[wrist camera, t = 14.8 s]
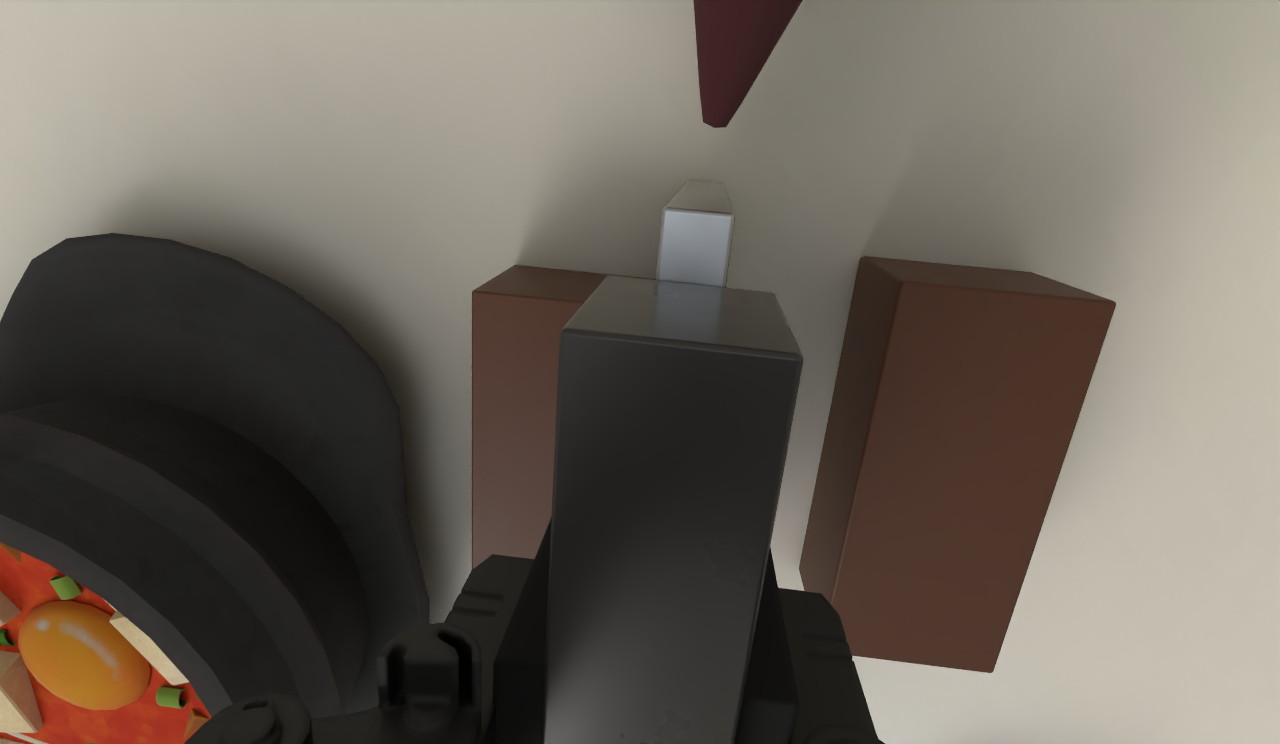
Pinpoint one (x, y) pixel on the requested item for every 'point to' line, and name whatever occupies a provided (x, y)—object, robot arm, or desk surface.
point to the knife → (665, 491)
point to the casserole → (189, 498)
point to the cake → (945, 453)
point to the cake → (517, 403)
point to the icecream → (735, 49)
